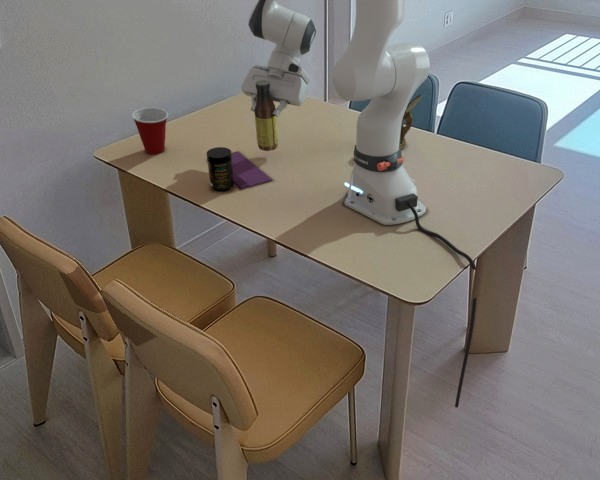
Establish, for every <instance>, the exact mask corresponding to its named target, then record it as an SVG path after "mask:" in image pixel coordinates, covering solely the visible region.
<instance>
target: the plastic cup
mask: <svg viewBox="0 0 600 480" xmlns="http://www.w3.org/2000/svg"><path fill="white" fill-rule="evenodd" d="M131 117H132V119H133V121H134V123H135V126H136V129H137V131H138V134H139V137H140V141H141V143H142V145H143V148H144V151H145V152H146V154H149V155H159V154H162V153H164V151H165V148H166V129H167V128H166V127H167V120H168V118H169V113H168V111H167V110H165V109H163V108H159V107H141V108H138V109H136V110H134V111H133V112H132V113H131Z"/></svg>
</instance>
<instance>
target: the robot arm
mask: <svg viewBox="0 0 600 480" xmlns="http://www.w3.org/2000/svg"><path fill="white" fill-rule="evenodd" d="M405 15H406V0H355V19H354V20H355V21H354V28H353V32H352V35H351V38H350V41H349V43H348V45H347V48H346V49H345V50H344V53H343V54H342V56H341V57H340V58H339V59H338V60H337V62H335V65H334V67H333V70H332V77H331V78H332V86H333V89H334V91H335V92H336V94H337V95H338V97H340V98H341V99H342V100H343V101H346V102H364V101H368V100H370V102H369V103H368V104H367V105H366V106H365V108H364V109H362V110H361V111H360V113H359V115H358V116H357V119H356V135H355V145H354V147H353V162H354V165H353V167H352V171H351V173H350V177H349V183H347V182H344V186H346V187H348V192H347V197H346V198H345V199H344V206H346V207H348V208H350V209H352V210H353V211H355V212H357V213H360V214H361V215H363V216H366V217H367V218H369V219H371V220H373V221H375V222H377V223H379V224H381V225H384V226H392V225H393V226H394V225H399V224H405V223H407V222H410V221H413V220H415V225H416V227H417V229H418V230H420V231H421V232H422V233H424V234H426V235H429V236H432V237H435V238H437V239H438V240H440V241H441V242H442V243H444V244H445V245H446V246H447V247H449V248H450V249H451V250H452V251H453V252H455V253H456V254H457V255H459V256H462V257H463V258H465V259H466V260H467V261H468V263H469V264H470V266H471V269H472V270H473V271H476V270H477V266H476V264H475V262H474V260H473V258H471V256H469V255H468V254H467V253H465V252H464V251H462V250H460V249H458V248H457V247H456V246H454V244H452V243H451V242H450V241H449V240H447V239H446V237H445V238H444V236H442V235H441V234H439V233H437V232H434V231H431V230H428V229H425V228H424V227H422V225H421V223H420V217H421V216H423V215H425V213H426V212H427V207H426V206H425V205H424V204H423V202H421V201H420V200H419V196H418V189H417V186H416V185H417V183H416V179H414V178H411V177H410V175H409V174H408V172H407V170H406V168H405V167H404V165H403V163H404V162H406V160H405V159H406V156H404V157H403V156H402V149H401V150H400V147H399V141H400V132H401V125H402V119H403V116H404V113H405V110H406V108H407V106H408V104H409V103H410V102H411V100H412V97H413V96H414V94H415V93H416V92H417V90H418V89H419V87H420V86H421V85H422V84H423V83H424V82H426V81H427V79H428V76H429V73H430V70H431V62H430V57H429V55H428V52H427V50H426V49H425V48H424V46H422V45H420V44H418V43H403V42H402V43H396V44H392V45H389V42H390V39H391V37H392V35H393V33H394V32H395V31H396V29H397V28H399V26H401V24H402V23H403V21H404V18H405ZM247 25H248V27H249V30H250V32H251V34H252V35H253V37H256V38H258V39H262V40H266V41H269V42H270V43H273V44H275V46H274V48H273V50H272V51H271V53H270V56H269V58H268V61H267V63H266V66H265V65H259V64H256V65H254V66H252V67H250V69H249V70H248V73H246V75H245V77H244V79H243V82H242V84H241V86H240V89H241V92H242V93H243V94H244V95H245V96H247V97H250V98H251V106H250V111H252V112H254V110H255V107H256V102H257V89H256V82H257V81H261V80H267V81H269V82H270V95H271V96H270V98H271V99H272V101H273V102H276V103H279V104H278V106H277V107H275V108H274V109H273V112H272V114H273V116H276V118H279V117H280V115H281V113H282V112H283V111H284V110H285V109H286V108H287V106H288V105H291V106H296V107H301V106H302V105H303V104H304V102H305V100H306V97H307V94H308V91H309V90H308V89H309V88H308V85H309V83H310V82H311V78H310V76H309V75H308V73H307V72H306V71H305V69H304V68H303V67H302V66H300V64H301V59H302V57H303V56H304V55H305V54H307V53H309V52H310V50H311V47H312V44H313V41H314V40H315V38H316V34H317V28H316V26H315V23H314V22H313V20H312V18H309V16H307V15H305V14H304V13H301V12H297V11H294V10H292V9H289V8H288V7H285V6H282V5H280V4H278V3H277V1H276V0H257V1H256V3H255V4H254V6H253V7H252V9H251V11H250V13H249V16H248V24H247ZM477 298H478V297H474V298H472V302H471V303H472V304H471V315H470V322H469V329H468V334H467V335H468V336H467V341H466V346H465V351H464V357H463V361H462V366H461V371H460V377H459V381H458V386H457V392H456V398H455V403H454V407H455V408H459V404H460V398H461V393H462V388H463V383H464V377H465V373H466V369H467V368H466V367H467V364H468V358H469V353H470V349H471V343H472V338H473V333H474V326H475V321H476V320H475V319H476V311H477Z"/></svg>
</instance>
